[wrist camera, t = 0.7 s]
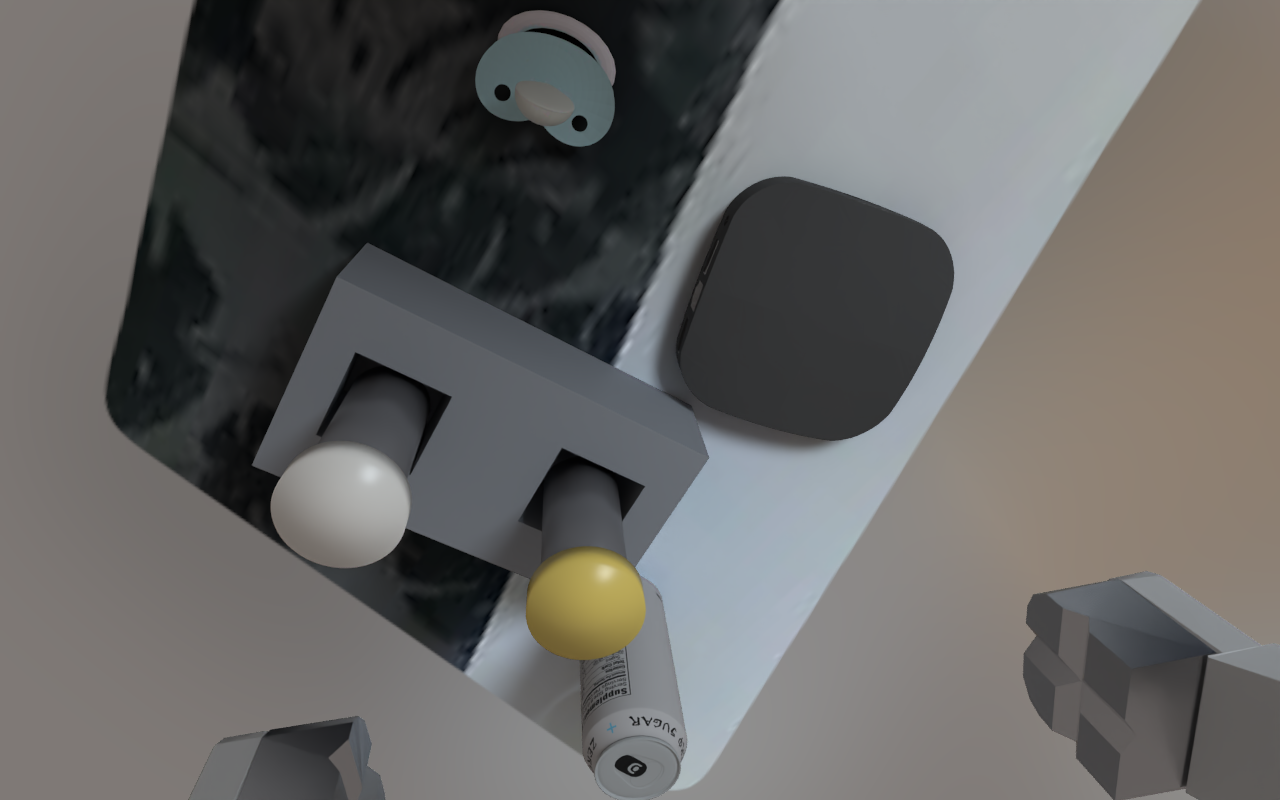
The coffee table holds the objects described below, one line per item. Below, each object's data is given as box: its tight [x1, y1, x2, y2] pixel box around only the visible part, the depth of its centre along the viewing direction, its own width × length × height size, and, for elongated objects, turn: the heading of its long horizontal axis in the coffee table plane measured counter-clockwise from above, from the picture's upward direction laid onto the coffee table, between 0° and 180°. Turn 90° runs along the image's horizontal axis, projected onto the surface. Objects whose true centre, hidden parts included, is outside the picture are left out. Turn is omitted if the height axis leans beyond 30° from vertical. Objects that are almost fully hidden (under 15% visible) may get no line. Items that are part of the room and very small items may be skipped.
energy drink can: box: [580, 576, 687, 800], centre depth 52 cm, size 6×6×15 cm
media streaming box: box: [676, 177, 954, 441], centre depth 50 cm, size 15×15×3 cm
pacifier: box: [475, 10, 616, 147], centre depth 41 cm, size 7×6×6 cm
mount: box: [252, 243, 709, 579], centre depth 48 cm, size 12×22×7 cm, turn 60°
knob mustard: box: [526, 456, 646, 660], centre depth 43 cm, size 6×6×11 cm
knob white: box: [271, 366, 431, 568], centre depth 40 cm, size 6×6×11 cm
